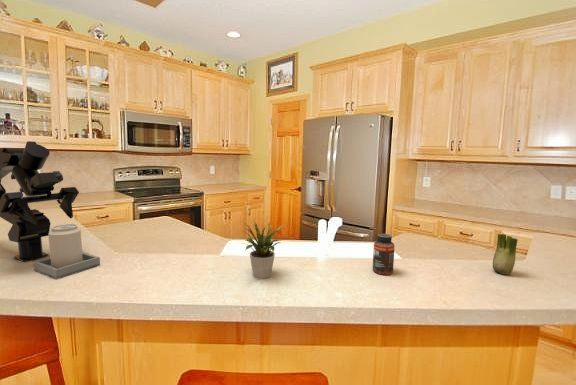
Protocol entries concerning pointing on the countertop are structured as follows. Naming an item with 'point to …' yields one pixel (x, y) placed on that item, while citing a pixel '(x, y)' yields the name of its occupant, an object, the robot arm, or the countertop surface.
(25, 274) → the countertop surface
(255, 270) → the house plant
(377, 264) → the supplement bottle
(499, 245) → the fennel bulb
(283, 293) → the countertop surface
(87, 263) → the tray
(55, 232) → the can
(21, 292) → the countertop surface
